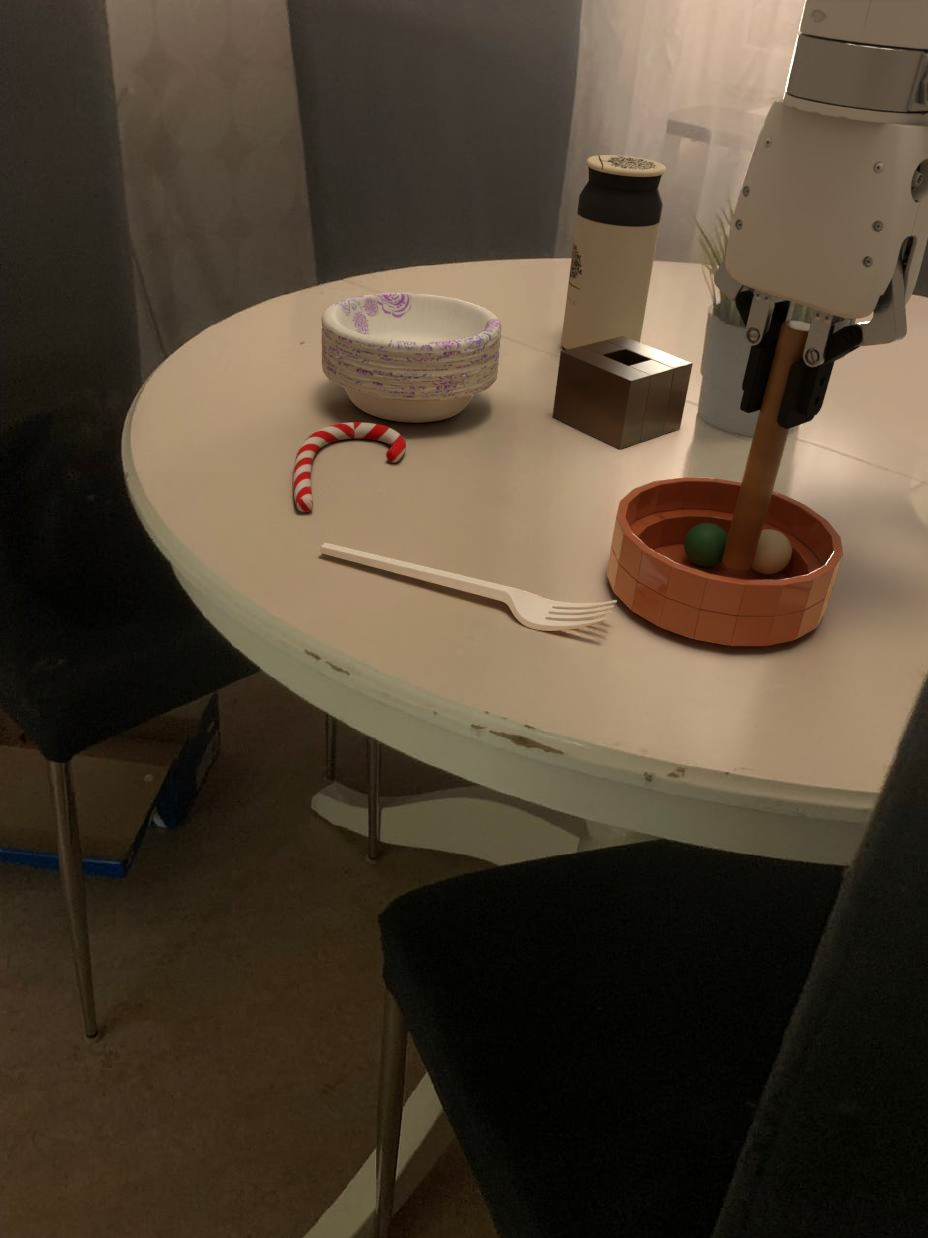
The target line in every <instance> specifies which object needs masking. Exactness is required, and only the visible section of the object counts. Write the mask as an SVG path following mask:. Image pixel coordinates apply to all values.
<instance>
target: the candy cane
mask: <svg viewBox="0 0 928 1238" xmlns="http://www.w3.org/2000/svg"><path fill="white" fill-rule="evenodd" d="M350 439H361V440H362V439H363V440H373V441H379V442H382V443H384V444H387V445H388V446H390V448H389V449H388V450H387V451H386V453H385V458H386V459H387V461H388V462H389V463H391V464H395V463H397V462H399V460H401V458H402V457H403V456H404V454H405V452H406V450H407V444H406V441H405V439H404V437H403V436H402V434H400V433H399V432H398V431H397V430H395V429H393V428H391V427H388V426H386V425H382V424H378V423H372V422H358V421H357V422H356V421H355V422H354V421H353V422H342V423H335V424H330V425H327V426H324V427H322V428H319V429H318V430H316V431H314V432H313V433H312V434H310V435H309V436H308V437H307V438H306V439H305V440H304V441H303V442H302V443H301V445H300V446H299V448H298V450H297V453H296V456H295V461H294V466H293V472H292V473H293V475H292V478H293V479H292V487H293V489H292V490H293V497H294V503H295V506H296V509H297V510H298V511H299V512H301V513H308V512H311V510H312V509H313V508H314V498H313V492H312V491H313V490H312V468H313V461H314V458H315V455H316V454H317V452H318V451H319V450H320V449H321V448H323V447H324V446H326V445H328V444H330V443H333V442H337V441H342V440H350Z"/></svg>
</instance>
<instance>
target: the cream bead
mask: <svg viewBox="0 0 928 1238" xmlns="http://www.w3.org/2000/svg"><path fill="white" fill-rule="evenodd" d="M791 555H792V548H791V544H790V542H789V540H788V538H787V537H786V536H785V535H784V534H782V533H781V532H779V531H776V530H771V529H766V530H762V532H761V536H760V540H759V543H758V547H757V551H756V554H755V558H754V562H753V565H752V568H753V569H754V570H755V571H757V572H759V573H762V574H774V573H777V572H779V571H781V570H783V569H784V568H785V567H786V566H787V565H788V563H789V561H790V559H791Z"/></svg>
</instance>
